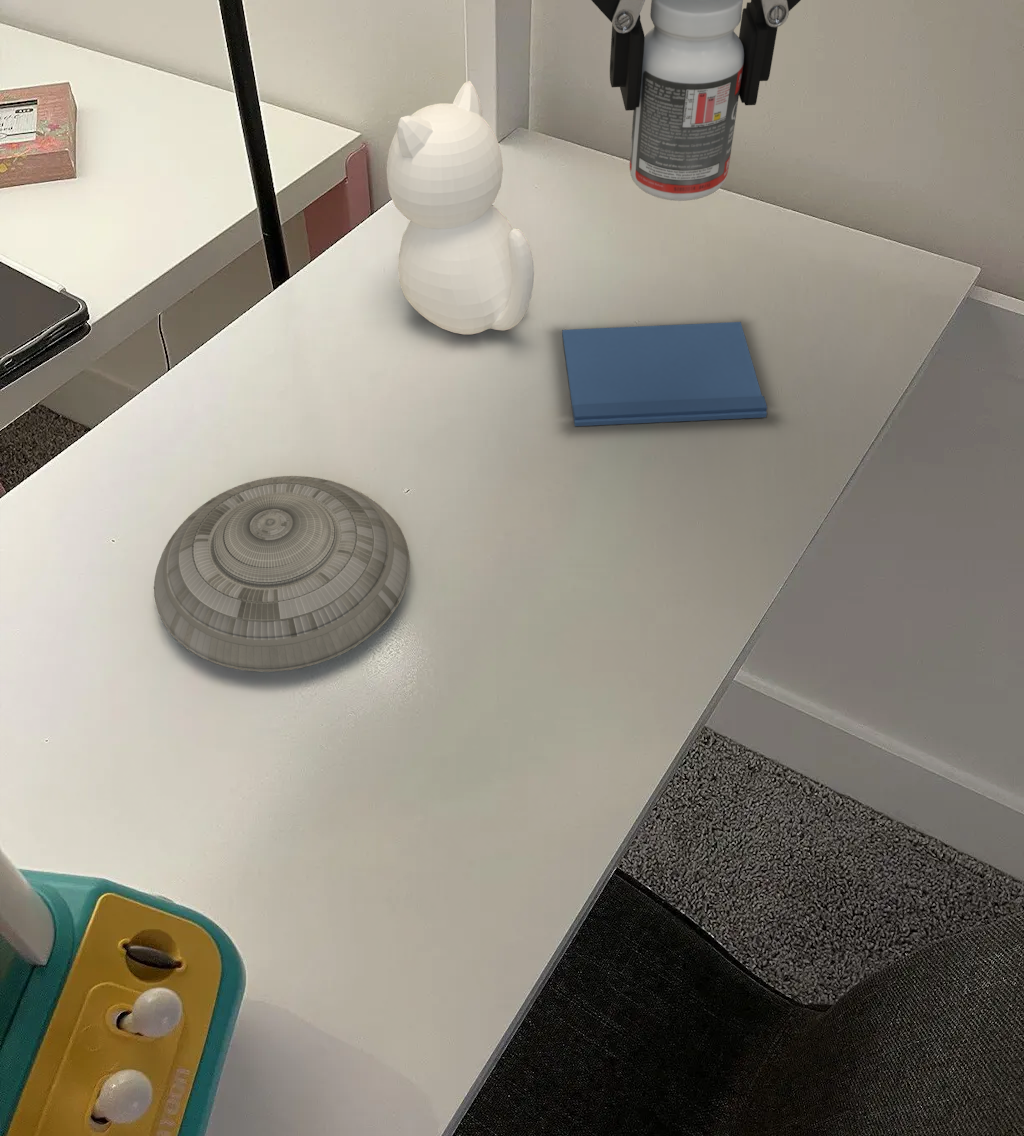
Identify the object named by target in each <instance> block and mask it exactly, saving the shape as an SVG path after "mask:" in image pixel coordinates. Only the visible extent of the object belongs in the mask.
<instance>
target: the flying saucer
mask: <svg viewBox="0 0 1024 1136" xmlns="http://www.w3.org/2000/svg"><path fill="white" fill-rule="evenodd" d="M410 568H411V558H410V549H409V546H408V543H407V540H406V537H405V534H404V533H403V531H402V529H401V528H400V526H399V524H398V523H397V521H396V520H395V519H394V518H393V516H392V515H391V514H390V513H389V512H388V511H387V510H386V509H384V507H382V506H381V505H380V504H378V503H377V502H376V501H375V500H374V499H372V498H370V497H369V496H367V495H366V494H364V493H362V492H360V491H358V490H356V489H354V488H352V487H351V486H348V485H345V484H342V483H339V482H337V481H334V480H333V481H332V480H329V479H324V478H320V477H314V476H305V475H304V476H303V475H283V476H282V475H281V476H271V477H265V478H261V479H256V480H252V481H249V482H245V483H242V484H240V485H237V486H234V487H231V488H229V489H227V490H225V491H223V492H221V493H219V494H218V495H216V496H214V497H212V498H211V499H209V500H208V501H206V502H205V503H203V504H202V505H201V506H199V507H198V508H197V509H195V510H194V511H193V512H192V513H191V514H190V515H189V516H188V517H187V518H186V519H185V520H184V521H183V522H182V523H181V524H180V525H179V527H178V528H177V529H176V530H175V532H174V533H173V534H172V536H171V537H170V539H169V540H168V542H167V544H166V545H165V546H164V549H163V551H162V553H161V555H160V559H159V561H158V563H157V567H156V571H155V573H154V574H155V575H154V582H153V596H154V601H155V606H156V609H157V612H158V615H159V617H160V620H161V621H162V623H163V625H164V626H165V628H166V630H167V631H168V632H169V633H170V634H171V636H172V637H173V638H174V639H175V640H176V641H177V642H178V643H179V644H181V645H182V646H183V647H184V648H185V649H187V650H188V651H190V652H191V653H193V654H194V655H196V656H198V657H200V658H202V659H203V660H206V661H209V662H211V663H213V664H216V665H219V666H222V667H226V668H229V669H230V668H231V669H236V670H240V671H247V672H263V673H264V672H283V671H284V672H285V671H290V670H298V669H302V668H306V667H310V666H314V665H318V664H321V663H323V662H326V661H329V660H332V659H334V658H336V657H339V656H341V655H344V654H345V653H347V652H348V651H350V650H352V649H354V648H356V647H357V646H359V645H360V644H361V643H363V642H364V641H366V640H367V639H369V638H370V637H371V636H373V634H375V633H376V632H377V631H378V630H379V629H381V627H382V626H383V625H385V623H386V622H387V621H388V620H389V618H390V617H391V616H392V615H393V613H394V612H395V611H396V609H397V608H398V605H399V604H400V602H401V600H402V598H403V596H404V593H405V591H406V589H407V586H408V582H409V577H410V571H411V569H410Z"/></svg>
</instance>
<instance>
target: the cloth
mask: <svg viewBox="0 0 1024 1136" xmlns="http://www.w3.org/2000/svg"><path fill="white" fill-rule="evenodd" d="M561 336H562V343H563V344H562V345H563V351H564V356H565V366H566V373H567V380H568V388H569V395H570V404H571V411H572V419H573V425H574V427H590V426H608V425H630V424H633V425H634V424H650V423H651V424H655V423H673V422H674V423H675V422H694V421H695V422H698V421H716V420H717V421H718V420H737V419H738V420H739V419H757V418H758V419H759V418H760V419H761V418H767V414H768V412H767V411H768V406H767V402H766V399H765V396H764V395H762V391H761V387H760V384H759V380H758V377H757V373H756V370H755V366H754V363H753V360H752V357H751V353H750V349H749V346H748V343H747V342H748V341H747V339H746V335H745V332H744V328H743V325H742V322H741V321H730V322H708V323H686V324H685V323H683V324H682V323H681V324H663V325H662V324H661V325H659V324H658V325H640V326H639V325H638V326H637V325H636V326H618V327H617V326H616V327H596V328H574V329H571V328H570V329H562V330H561Z"/></svg>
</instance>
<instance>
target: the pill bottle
mask: <svg viewBox="0 0 1024 1136" xmlns="http://www.w3.org/2000/svg"><path fill="white" fill-rule="evenodd" d="M743 3H744V0H651V4H650V13H649V16H650V20H651V22H652V24H653V26H654V27H652V28H651V29H650V30H649V31H648V32H647V33H646V34H645V35H644V38H645V40H644V54H643V66H642V78H641V91H640V103H639V107H636V109H635V110H633V112H632V113H633V114H632V126H631V137H630V138H631V139H630V152H629V174H630V177H631V179H632V181H633V183H634V184H635V186H637V188H639V189H640V190H641V191H643V192H644V193H646V194H648V195H649V196H652V197H655V198H658V199H662V200H666V201H675V202H677V201H678V202H683V201H684V202H687V201H695V200H699V199H703V198H705V197H708V196H710V195H712V194H714V193H716V192H717V191H718V190H719V189H720V188H722V186H723V185H724V184H725V182H726V180H727V177H728V173H729V168H730V161H731V154H732V147H733V140H734V135H735V126H736V118H737V111H738V105H739V99H740V96H739V91H740V85H741V78H742V72H743V65H744V48H743V45H742V42H741V40H740V39H739V35H738V34H736V32H735V29H736V28H737V27H738V26H739V25H740V24H741V19H742V12H743Z"/></svg>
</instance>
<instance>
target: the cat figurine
mask: <svg viewBox="0 0 1024 1136" xmlns="http://www.w3.org/2000/svg"><path fill="white" fill-rule="evenodd" d="M485 119H486V118H484V117H483V108H482V103H481V98H480V96H479V94H478V91H477V90H476V88H475V86H474V84H472V82H471V81H470V80H467V81H465V82H464V83H463V84H462V85H461V87H460V88H459V90H458V92H457V94H456V96H455V97H454V100H453V102H452V103H434V104H430V105H427V106H423V107H422V108H419V109H418V110H416V111H415V112H414V113H412V114H410V115H404V116H401V117H400V118H399V120H398V123H397V127H396V131H395V133H394V135H393V138H392V140H391V143H390V146H389V150H388V155H387V162H386V182H387V189H388V193H389V196H390V198H391V200H392V203H393V205H394V207H395V208H396V209H397V211H398V212H400V214H402V215H403V216H404V217H405V218H406V219H407V220H409V223H408V225H407V226H406V228H405V230H404V233H403V235H402V238H401V243H400V246H399V252H398V265H397V269H398V281H399V284H400V288H401V291H402V293H403V297H404V299H406V300H407V302H409V304H410V305H411V307H412V308H413V310H415V311H416V312H418V314H420V316H422V317H423V318H425V320H427V321H428V322H430V324H434V325H435V326H437V327H438V328H440V329H443V330H445V331H448V332H451V333H455V334H459V335H476V334H480V333H482V332H485V331H487V330H491V329H492V330H495V331H507V330H510V329H513V328H514V327H516V326H517V325H518V324H519V323H520V322H521V321H522V320H523V318H524V317H525V316H526V313H527V311H528V308H529V305H530V302H531V299H532V295H533V289H534V283H535V281H534V280H535V279H534V278H535V269H534V267H535V266H534V257H533V252H532V249H531V246H530V243H529V240H528V238H527V237H526V235H525V233H524V232H523V231H522V230H521V229H519V228H517V227H516V228H513V226H512V224H511V223H510V221H509V219H508V218H507V217H506V216H505V215H504V214H503V213H502V212H501V211H500V210H499V208H497V207H496V206H495V205H493V204H494V203H495V201H496V199H497V197H498V195H499V192H500V189H501V187H502V182H503V174H504V164H503V163H504V162H503V156H502V149H501V147H500V143H499V140H498V138H497V136H496V134H495V132H494V130H493V128H492V127H491V126H490V125H489V123H488V122H487V121H486V120H485Z"/></svg>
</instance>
